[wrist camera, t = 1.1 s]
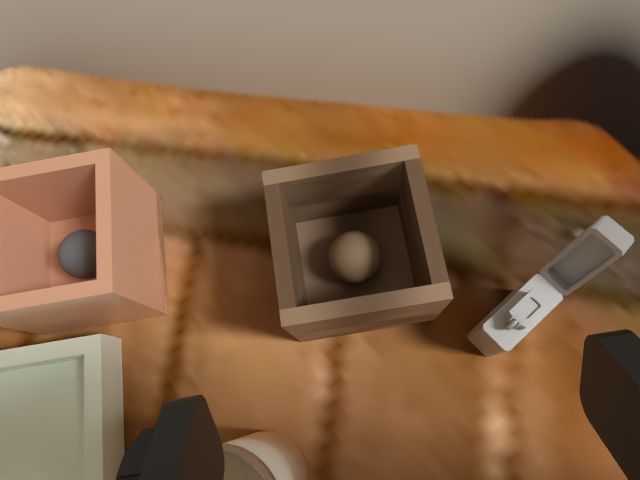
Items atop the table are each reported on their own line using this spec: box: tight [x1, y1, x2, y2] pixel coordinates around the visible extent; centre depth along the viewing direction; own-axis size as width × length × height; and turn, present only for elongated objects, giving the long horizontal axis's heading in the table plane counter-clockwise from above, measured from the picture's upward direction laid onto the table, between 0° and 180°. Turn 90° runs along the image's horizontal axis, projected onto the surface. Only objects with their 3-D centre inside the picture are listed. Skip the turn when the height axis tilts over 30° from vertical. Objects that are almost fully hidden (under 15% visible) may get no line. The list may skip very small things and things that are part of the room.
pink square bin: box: [0, 148, 168, 335], centre depth 29 cm, size 8×8×7 cm
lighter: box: [467, 216, 634, 357], centre depth 25 cm, size 7×2×8 cm, turn 131°
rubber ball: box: [57, 230, 97, 279], centre depth 30 cm, size 3×3×3 cm
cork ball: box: [329, 231, 381, 283], centre depth 29 cm, size 3×3×3 cm
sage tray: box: [0, 334, 125, 480], centre depth 28 cm, size 10×14×2 cm
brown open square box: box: [262, 144, 454, 342], centre depth 27 cm, size 8×8×7 cm
